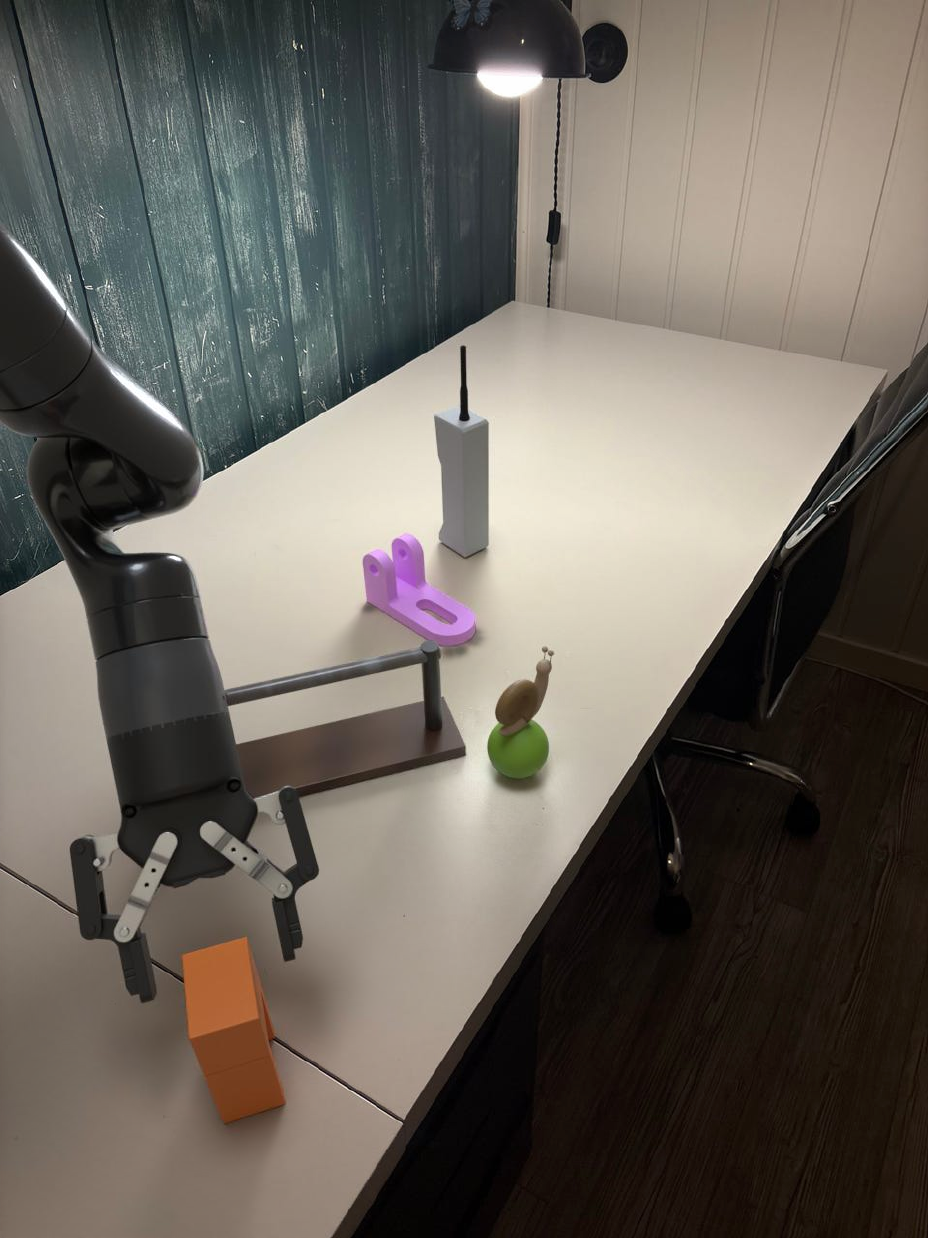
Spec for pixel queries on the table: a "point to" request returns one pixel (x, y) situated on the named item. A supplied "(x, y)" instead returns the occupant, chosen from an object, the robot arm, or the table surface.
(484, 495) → the vintage mobile phone
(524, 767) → the snail figurine
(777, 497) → the table surface
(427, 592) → the bracket
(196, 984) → the orange lidded gift box
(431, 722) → the rail stand
